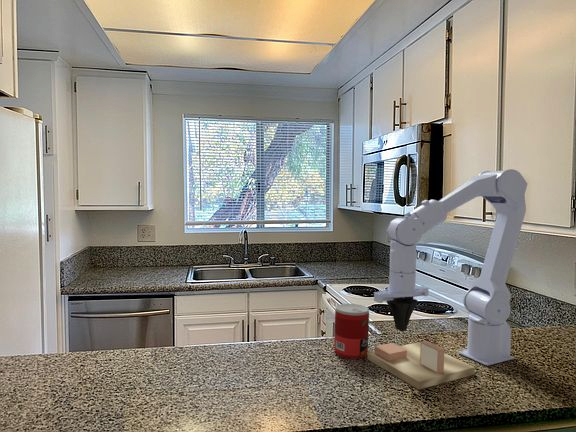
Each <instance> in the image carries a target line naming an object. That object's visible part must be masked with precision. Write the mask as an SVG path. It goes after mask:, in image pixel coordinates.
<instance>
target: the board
mask: <svg viewBox="0 0 576 432" xmlns="http://www.w3.org/2000/svg"><path fill="white" fill-rule="evenodd" d="M398 346H399V347H401V348H403V349H405V350H407V357H406V358H401V359H397V360H392V361H388V360H386V359H384V358H383V357H381V356H379V355H377V354H376V353H375V350H374V351H370V352H369V351H368V352H367V360H368V361H369V362H371V363H373V364H374V365H376V366H378V367H379V368H382V369H383V370H385V371H386V372H389V374H392V375H393V376H395V377H397V378H398V379H400V380H402V381H403V382H405V383H406V384H409V385H410V386H412V387H414V389H417V390H418V391H419V390H422V389H426V388H430V387H434V386H436V385H440V384H445V383H448V382H451V381H452V382H453V381H455V380H460V379H462V378H466V377H470V376H474V375H475V372H476V370H475V369H476V367H475V366H473V365H471V364H468V363H466V362H465V361H462V360H460V359H457V358H455V357H453V356H451V355H449V354H447V353H445V352H444V372H443V373H439V374H437V373H435V372H433V371H432V370H430V369H428V368H426V367H424V366H422V365H420V349H421V341H418V342H412V343H409V344H408V343H407V344H403V345H398Z"/></svg>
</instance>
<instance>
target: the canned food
mask: <svg viewBox="0 0 576 432" xmlns="http://www.w3.org/2000/svg"><path fill="white" fill-rule="evenodd" d="M334 311H335V312H334V344H333V345H334V346H333V347H334V352H335V354H336V355H337V356H338V357H341V358H344V359H347V360H348V359H349V360H358V359H364V358H366V356H368V352H369V329H370V325H369V324H370V309H369V308H368V307H367V306H365V305H362V304H357V303H341V304H338V305H336V306H335V309H334Z"/></svg>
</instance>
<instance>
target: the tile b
mask: <svg viewBox="0 0 576 432" xmlns="http://www.w3.org/2000/svg"><path fill="white" fill-rule="evenodd" d="M420 343H421V349H420V365H422V366H424V367H426V368H428V369H430V370H432V371H433V372H435V373H437V374H439V373H443V372H444V353H445V348H444V347H442V346H440V345H438V344H435V343H433V342H430V341H428V340H422V341H420Z"/></svg>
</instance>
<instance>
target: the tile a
mask: <svg viewBox="0 0 576 432" xmlns="http://www.w3.org/2000/svg"><path fill="white" fill-rule="evenodd" d="M399 346H400V345H397V344H396V343H393V342H389V343H384V344H379V345H375V346H374V351H375V353H376V354H377V355H379V356H381V357H383V358H384V359H386V360H388V361H392V360H397V359H401V358H406V357H407V350H405V349H403V348H401V347H399Z"/></svg>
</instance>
